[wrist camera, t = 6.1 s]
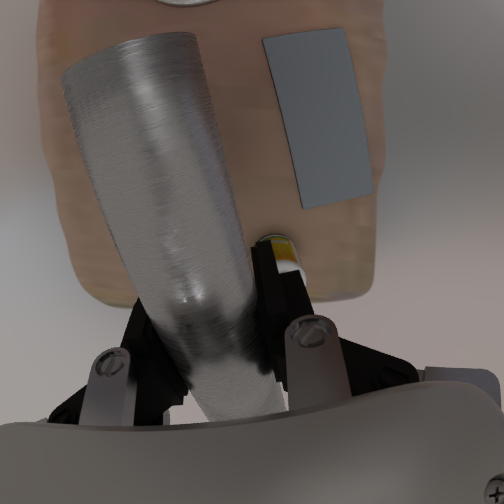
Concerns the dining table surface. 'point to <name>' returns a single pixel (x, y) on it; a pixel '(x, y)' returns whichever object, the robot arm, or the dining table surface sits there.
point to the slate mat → (321, 115)
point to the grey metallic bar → (175, 215)
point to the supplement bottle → (286, 255)
